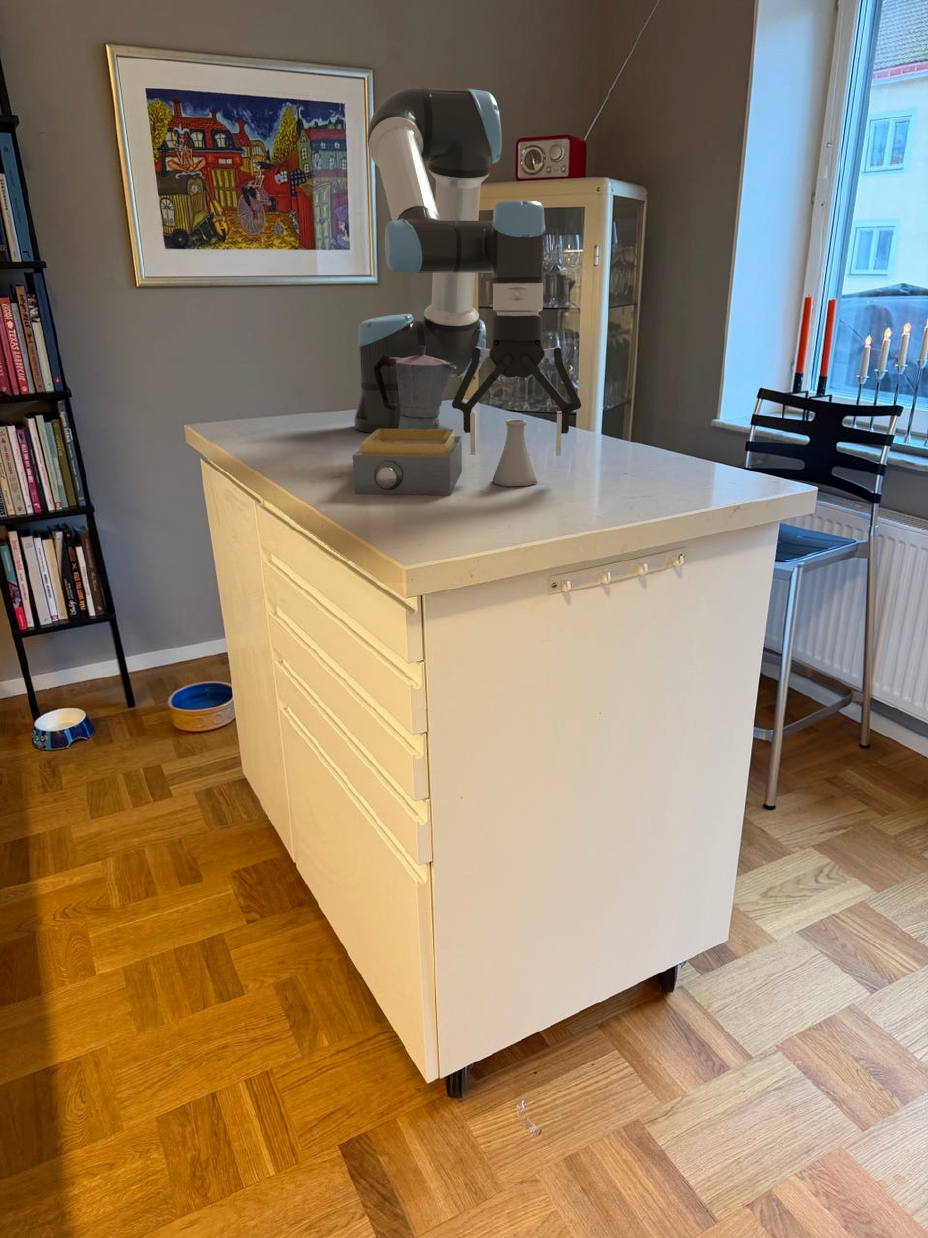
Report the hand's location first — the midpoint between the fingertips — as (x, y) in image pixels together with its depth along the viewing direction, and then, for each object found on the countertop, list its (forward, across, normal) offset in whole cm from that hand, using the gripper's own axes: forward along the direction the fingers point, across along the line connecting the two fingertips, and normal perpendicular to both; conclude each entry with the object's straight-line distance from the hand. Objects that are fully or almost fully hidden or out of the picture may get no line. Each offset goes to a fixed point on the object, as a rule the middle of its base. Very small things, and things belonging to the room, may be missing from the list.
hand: (515, 453), depth 139 cm
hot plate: (+5, -17, -2) cm, 18 cm away
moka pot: (+5, -19, +18) cm, 27 cm away
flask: (+5, 0, 0) cm, 5 cm away
